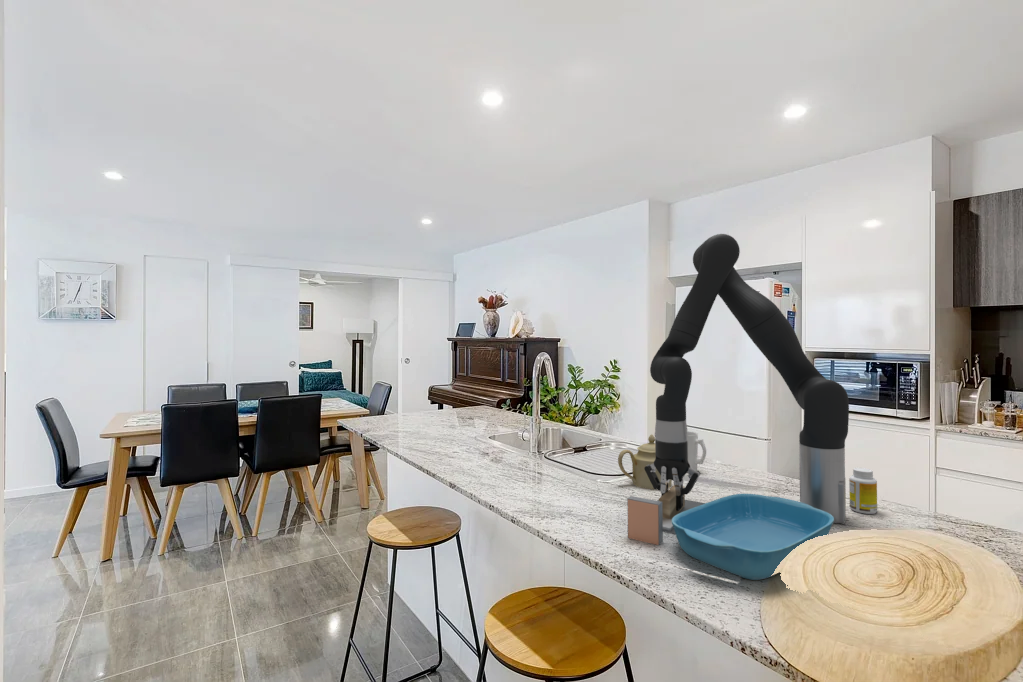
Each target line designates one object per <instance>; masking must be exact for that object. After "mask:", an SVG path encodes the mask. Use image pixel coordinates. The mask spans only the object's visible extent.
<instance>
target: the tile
mask: <svg viewBox="0 0 1023 682" xmlns="http://www.w3.org/2000/svg"><path fill="white" fill-rule="evenodd" d="M626 500H627V505H626V506H627V538H629V539H631V540H636V541H639V542H643V543H649V544H651V545H657V546H660V545H661V544H662V543H663V542H664V532H663V507H662V502H661V501H658V500H655V499H649V498H646V497H645V498H644V497H638V496H634V495H633V496H632V495H630V496H629V497H627V499H626Z"/></svg>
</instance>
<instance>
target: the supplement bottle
mask: <svg viewBox="0 0 1023 682" xmlns="http://www.w3.org/2000/svg"><path fill="white" fill-rule="evenodd" d="M852 470H853V471H852V475H850V476H849V478H848V479H849V480H848V481H849V484H848V485H849V487H848V488H849V491H848V492H849V508H850V510H852V511H854V512H856V513H859V514H865V515H866V514H867V515H873V514H876V513H877V512H878V481H877V479H876V478H875V477H874V474H873V473H874V470H873V469H870V468H866V467H853V469H852Z"/></svg>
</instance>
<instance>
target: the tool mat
mask: <svg viewBox="0 0 1023 682" xmlns="http://www.w3.org/2000/svg"><path fill="white" fill-rule="evenodd" d="M657 501H659V499H658V500H657ZM705 503H706V502H700V501H696V500H691V499H690V500H689V499H685V506H684V507H683V508H682V510H681V511H680V512H679V513H681V512H684V511H686V510H689V509H691V508H694V507H697V506H700V505H703V504H705ZM679 513H678V514H679ZM663 533H665V534H671V535H674V536H676V533H675V530H674V528H673V529H672V530H671V531H667V530H663Z"/></svg>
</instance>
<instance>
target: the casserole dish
mask: <svg viewBox="0 0 1023 682" xmlns="http://www.w3.org/2000/svg"><path fill="white" fill-rule="evenodd" d="M704 503H705V504H703V505H700V506H697V507H694V508H691V509H689V510H686V511H684V512H681V513H679V514H677V515H675V516H674V517H673V518H672V525H673V527H674V530H675V533H676V535H675V536H676V539H677V543H678V544H679V546H680V547H681V549H682V550H683V552H684V553H685V554H687V555H688V556H689V557H692V558H693V559H695V560H697V561H700V562H703V563H705V564H707V565H709V566H710V565H711V566H712V567H715V568H718V569H720V570H723V571H726V572H727V573H731V574H733V575H736V576H739V577H740V578H743V579H746V580H753V581H760V580H764V579H768V578H770V577H772V576H771V575H772V574H773V573H774V571H775V569H776V568H777V566H778V565H779V564H780V562H781V561H782V560H783V559H784V558H785V557H786V556H787V555H788V554H789V553H790V552H791V551H792V550H793V549H795V548H796V547H797V546H799V545H800V544H802V543H804V542H805V541H807V540H810V539H813V538H815V537H818V536H823V535H827V534H828V535H829V534H830V531H831V529H832V526H833V524H834V523H833V522H834V517H833V516H832V515H831V514H829V513H827V512H825V511H823V510H820V509H817V508H814V507H812V506H810V505H808V504H805V503H802V502H800V501H797V500H794V499H789V498H787V497H785V498H784V497H779V496H770V495H763V494H758V493H757V494H756V493H736V494H735V493H734V494H730V495H727V496H723V497H720V498H716V499H714V500H711V501H708V502H704Z"/></svg>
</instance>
